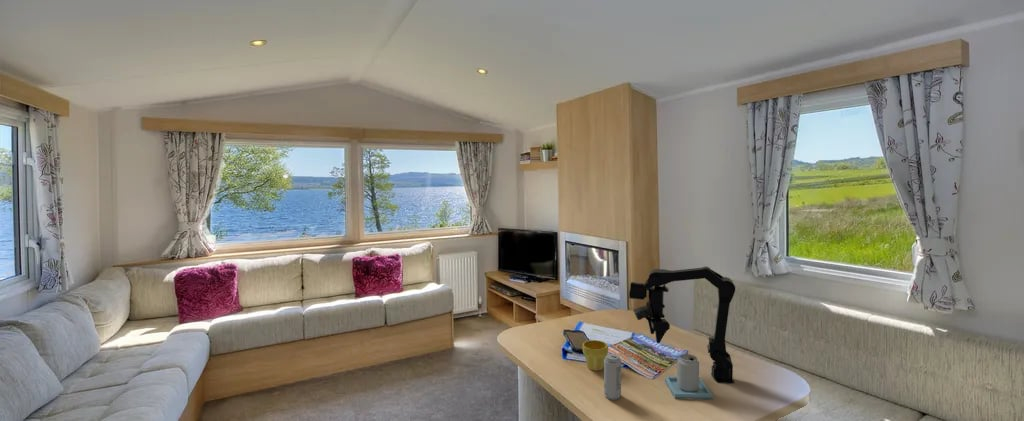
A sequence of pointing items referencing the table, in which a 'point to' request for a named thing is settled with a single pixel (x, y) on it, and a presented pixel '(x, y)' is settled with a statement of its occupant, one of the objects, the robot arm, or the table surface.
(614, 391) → the energy drink can
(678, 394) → the tray
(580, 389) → the table surface
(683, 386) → the can
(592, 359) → the plant pot
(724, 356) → the robot arm
